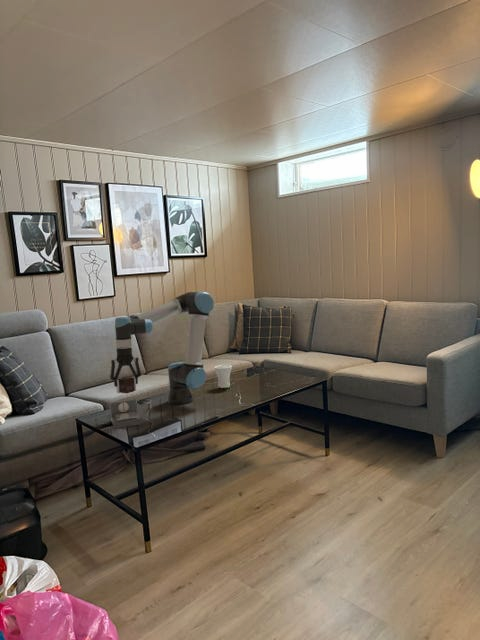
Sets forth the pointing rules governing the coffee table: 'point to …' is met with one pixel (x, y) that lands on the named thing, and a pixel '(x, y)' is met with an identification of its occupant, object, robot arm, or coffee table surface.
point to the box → (126, 385)
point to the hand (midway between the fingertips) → (126, 391)
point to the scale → (124, 407)
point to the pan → (125, 416)
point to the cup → (223, 375)
